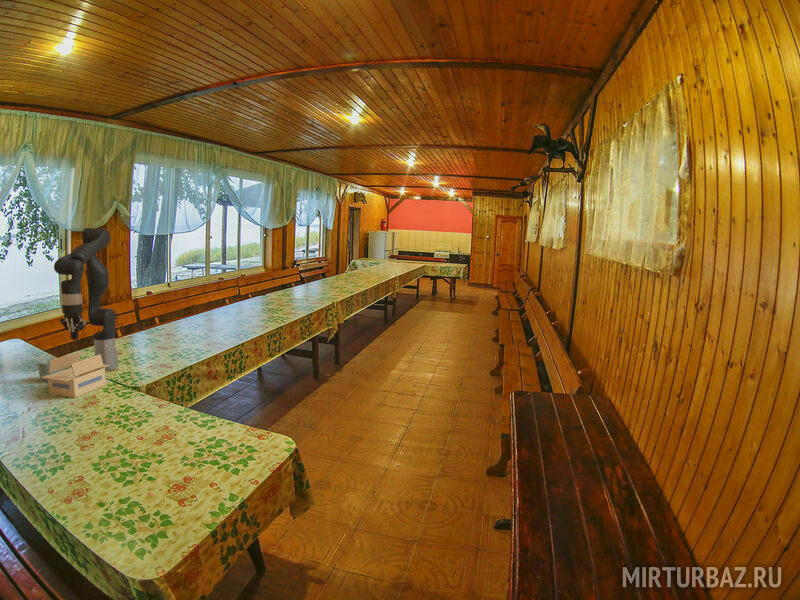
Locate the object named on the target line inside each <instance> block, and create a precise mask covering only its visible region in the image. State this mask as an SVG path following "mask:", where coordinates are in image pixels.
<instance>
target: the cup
mask: <svg viewBox="0 0 800 600" xmlns="http://www.w3.org/2000/svg"><path fill="white" fill-rule="evenodd" d="M54 359H55V358H47V359H46V358H45V359H42V360H40V361H38V363H37V369H38V375H39V378H40V380H41V381H42V382H45V383H46V382H47V383H48V379H45V378H41V377H43V376H46V375H51V374H54V373H57V372H60V371H61V369H60V370H57V371H54V372H51V373H49V363H50V360H54Z"/></svg>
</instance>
